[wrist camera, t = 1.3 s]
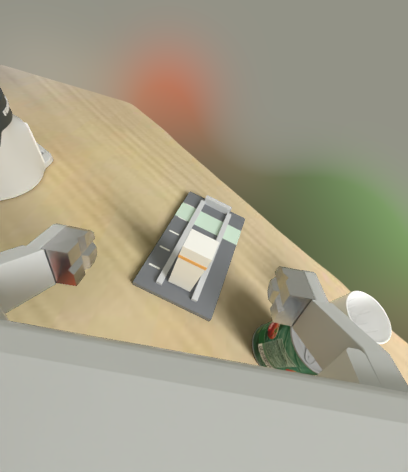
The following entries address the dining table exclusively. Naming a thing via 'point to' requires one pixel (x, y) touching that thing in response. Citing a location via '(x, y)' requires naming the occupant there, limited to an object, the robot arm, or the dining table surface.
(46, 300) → the dining table surface
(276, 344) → the canned tomato
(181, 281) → the fader
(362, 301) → the white cup
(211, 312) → the grey slider track base
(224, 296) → the dining table surface
